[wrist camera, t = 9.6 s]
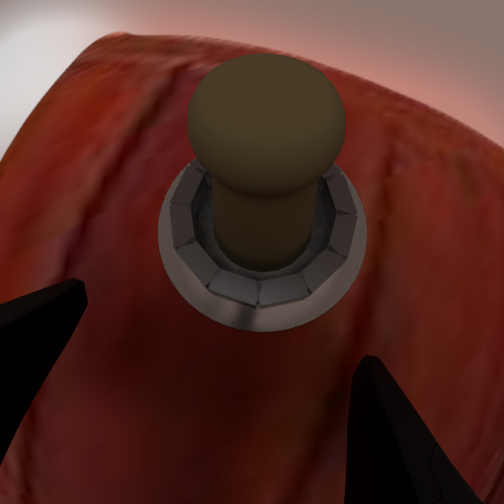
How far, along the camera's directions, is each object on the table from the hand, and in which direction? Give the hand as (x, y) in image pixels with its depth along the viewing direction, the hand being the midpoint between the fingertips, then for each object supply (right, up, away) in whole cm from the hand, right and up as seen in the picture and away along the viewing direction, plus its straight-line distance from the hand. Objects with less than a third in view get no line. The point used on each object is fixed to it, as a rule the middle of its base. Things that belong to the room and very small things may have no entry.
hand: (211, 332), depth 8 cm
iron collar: (+2, +4, +10) cm, 11 cm away
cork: (+2, +4, +10) cm, 11 cm away
